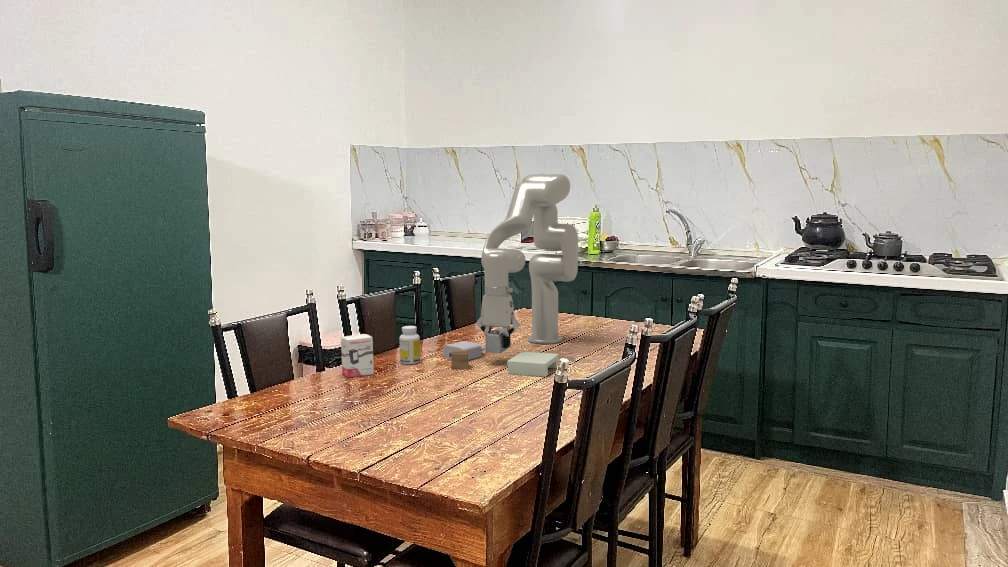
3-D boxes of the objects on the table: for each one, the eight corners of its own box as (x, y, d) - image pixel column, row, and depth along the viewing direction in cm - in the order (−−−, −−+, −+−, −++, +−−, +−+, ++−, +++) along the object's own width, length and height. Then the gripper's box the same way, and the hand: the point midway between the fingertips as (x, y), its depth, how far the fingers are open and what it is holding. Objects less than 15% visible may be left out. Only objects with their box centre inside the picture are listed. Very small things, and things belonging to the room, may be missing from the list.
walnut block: (452, 365, 255) (452, 350, 254) (468, 365, 255) (468, 350, 254) (451, 369, 250) (451, 354, 249) (467, 369, 250) (467, 353, 249)
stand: (522, 363, 257) (522, 351, 256) (558, 366, 253) (558, 354, 252) (507, 373, 244) (507, 361, 243) (545, 377, 240) (545, 364, 239)
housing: (496, 345, 263) (496, 326, 262) (510, 346, 261) (510, 327, 260) (485, 352, 255) (485, 332, 254) (500, 353, 253) (499, 333, 252)
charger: (494, 354, 271) (462, 362, 260) (474, 351, 277) (443, 358, 266) (494, 341, 270) (462, 348, 259) (474, 337, 276) (442, 344, 265)
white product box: (348, 378, 241) (346, 339, 239) (341, 374, 245) (340, 336, 243) (374, 374, 245) (373, 336, 244) (367, 370, 249) (366, 333, 248)
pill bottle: (422, 360, 263) (421, 325, 261) (418, 365, 256) (417, 329, 255) (402, 360, 263) (401, 325, 262) (398, 364, 257) (397, 328, 255)
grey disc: (560, 359, 264) (560, 356, 264) (575, 360, 262) (575, 357, 262) (557, 362, 259) (557, 359, 259) (572, 363, 258) (572, 360, 258)
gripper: (526, 290, 255) (527, 345, 258) (476, 288, 261) (478, 342, 264) (518, 294, 248) (519, 351, 251) (467, 292, 254) (469, 348, 257)
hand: (498, 346), depth 258 cm, fingers closed on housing, 5 cm apart
